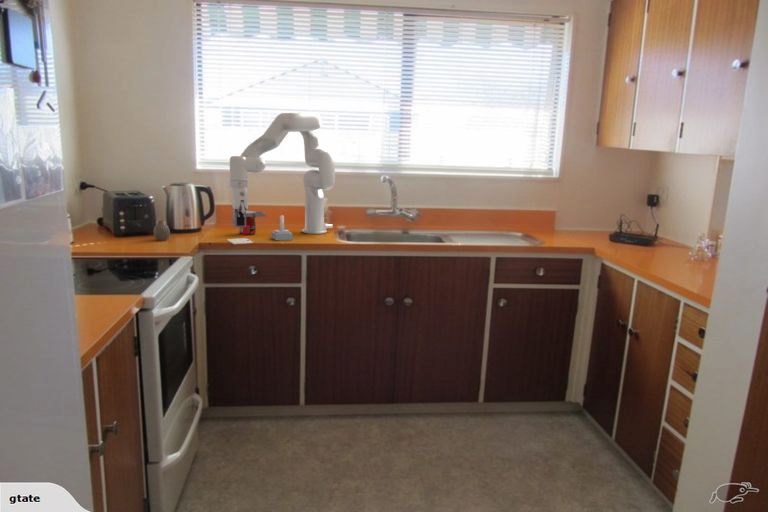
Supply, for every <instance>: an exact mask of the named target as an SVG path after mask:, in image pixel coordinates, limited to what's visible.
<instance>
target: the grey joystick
mask: <svg viewBox="0 0 768 512" xmlns="http://www.w3.org/2000/svg"><path fill="white" fill-rule="evenodd" d="M270 233H271V239H272V238H273V239H272V240H274V239H275V240H274V241H276V240H280V241H289V240H290V241H293V240H294V234H293V233H292V232H291V231H290V230H288V229H285V216H284V215H279V229H276V230H274V231H271V232H270Z"/></svg>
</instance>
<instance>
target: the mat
mask: <svg viewBox="0 0 768 512" xmlns="http://www.w3.org/2000/svg"><path fill="white" fill-rule="evenodd" d="M226 240H227V241H228V242H229V243H231V244H232V245H244V244H245V245H247V244H254V241H252V240H251V239H249V238H247V237H245V238H244V237H243V238H242V237H241V238H228V239H226ZM247 240H249V241H247Z"/></svg>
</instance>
